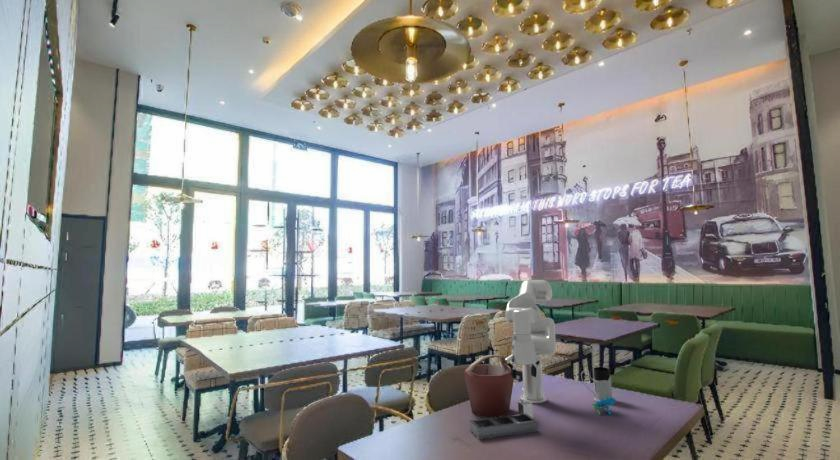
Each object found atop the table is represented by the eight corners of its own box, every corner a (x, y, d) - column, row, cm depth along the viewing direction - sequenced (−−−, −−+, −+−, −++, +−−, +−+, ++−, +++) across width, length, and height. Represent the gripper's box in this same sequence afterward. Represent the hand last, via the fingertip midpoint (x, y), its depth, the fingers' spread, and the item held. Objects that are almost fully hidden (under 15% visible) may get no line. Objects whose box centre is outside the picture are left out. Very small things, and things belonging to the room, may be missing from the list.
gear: (611, 404, 183) (616, 393, 177) (618, 417, 179) (623, 406, 172) (588, 409, 182) (593, 398, 176) (595, 421, 178) (600, 411, 171)
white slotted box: (518, 418, 173) (518, 401, 174) (527, 416, 174) (527, 399, 175) (524, 421, 169) (523, 404, 170) (533, 420, 170) (532, 403, 171)
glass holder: (615, 403, 189) (612, 371, 191) (583, 401, 193) (581, 370, 195) (611, 397, 198) (609, 367, 199) (581, 395, 202) (579, 365, 203)
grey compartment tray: (478, 439, 152) (478, 428, 152) (469, 430, 161) (469, 420, 161) (538, 431, 159) (537, 421, 159) (526, 423, 167) (526, 413, 168)
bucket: (502, 400, 197) (500, 349, 199) (527, 415, 176) (524, 358, 178) (457, 406, 189) (456, 353, 192) (477, 423, 168) (475, 363, 171)
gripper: (508, 340, 169) (510, 381, 167) (544, 337, 174) (546, 377, 172) (500, 337, 177) (502, 376, 175) (535, 335, 181) (536, 373, 179)
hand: (524, 377), depth 173 cm, fingers open, 9 cm apart
